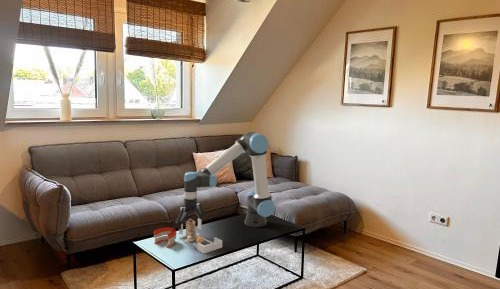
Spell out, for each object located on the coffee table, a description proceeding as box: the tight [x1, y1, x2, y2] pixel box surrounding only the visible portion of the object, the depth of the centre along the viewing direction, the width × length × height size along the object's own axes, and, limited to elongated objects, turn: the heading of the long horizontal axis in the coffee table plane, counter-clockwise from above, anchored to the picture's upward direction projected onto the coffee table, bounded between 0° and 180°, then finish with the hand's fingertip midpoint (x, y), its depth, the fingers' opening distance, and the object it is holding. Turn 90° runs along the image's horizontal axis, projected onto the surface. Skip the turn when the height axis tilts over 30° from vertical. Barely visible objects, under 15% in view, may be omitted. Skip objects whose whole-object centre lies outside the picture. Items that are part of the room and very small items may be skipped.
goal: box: [196, 237, 223, 254], centre depth 210 cm, size 13×6×4 cm, turn 134°
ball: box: [195, 236, 204, 244], centre depth 217 cm, size 4×4×4 cm
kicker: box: [185, 218, 200, 243], centre depth 223 cm, size 8×6×12 cm
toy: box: [153, 226, 177, 249], centre depth 217 cm, size 12×10×8 cm
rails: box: [178, 232, 214, 249], centre depth 220 cm, size 12×20×1 cm, turn 44°
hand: (190, 231), depth 224 cm, fingers open, 13 cm apart
